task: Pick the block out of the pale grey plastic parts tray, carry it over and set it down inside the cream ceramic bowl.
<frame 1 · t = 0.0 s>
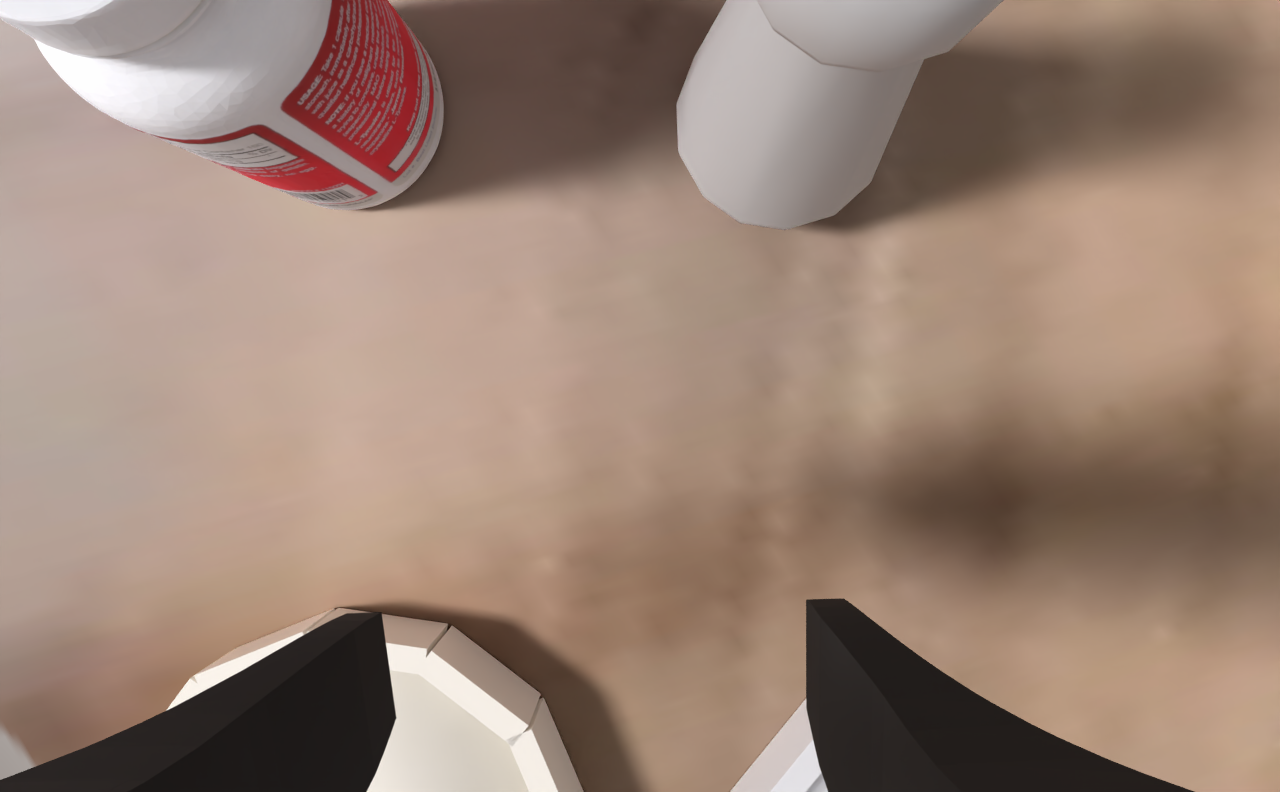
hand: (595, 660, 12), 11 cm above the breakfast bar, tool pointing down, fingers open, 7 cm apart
pill bottle: (354, 117, 22), on the breakfast bar
salt shaker: (768, 149, 22), on the breakfast bar
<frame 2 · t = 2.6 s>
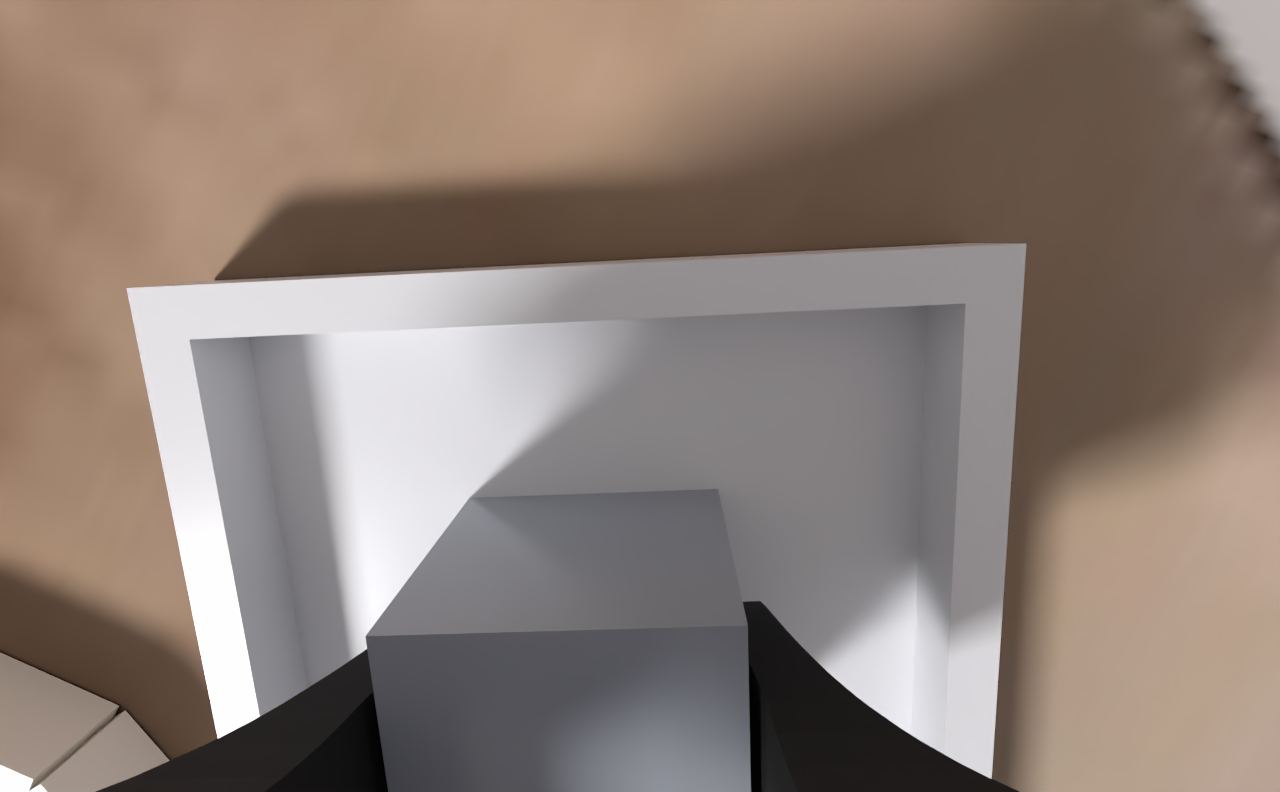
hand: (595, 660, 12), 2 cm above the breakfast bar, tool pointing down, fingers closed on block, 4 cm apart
parts tray: (603, 608, 13), on the breakfast bar
block: (601, 622, 13), resting on parts tray, touching gripper
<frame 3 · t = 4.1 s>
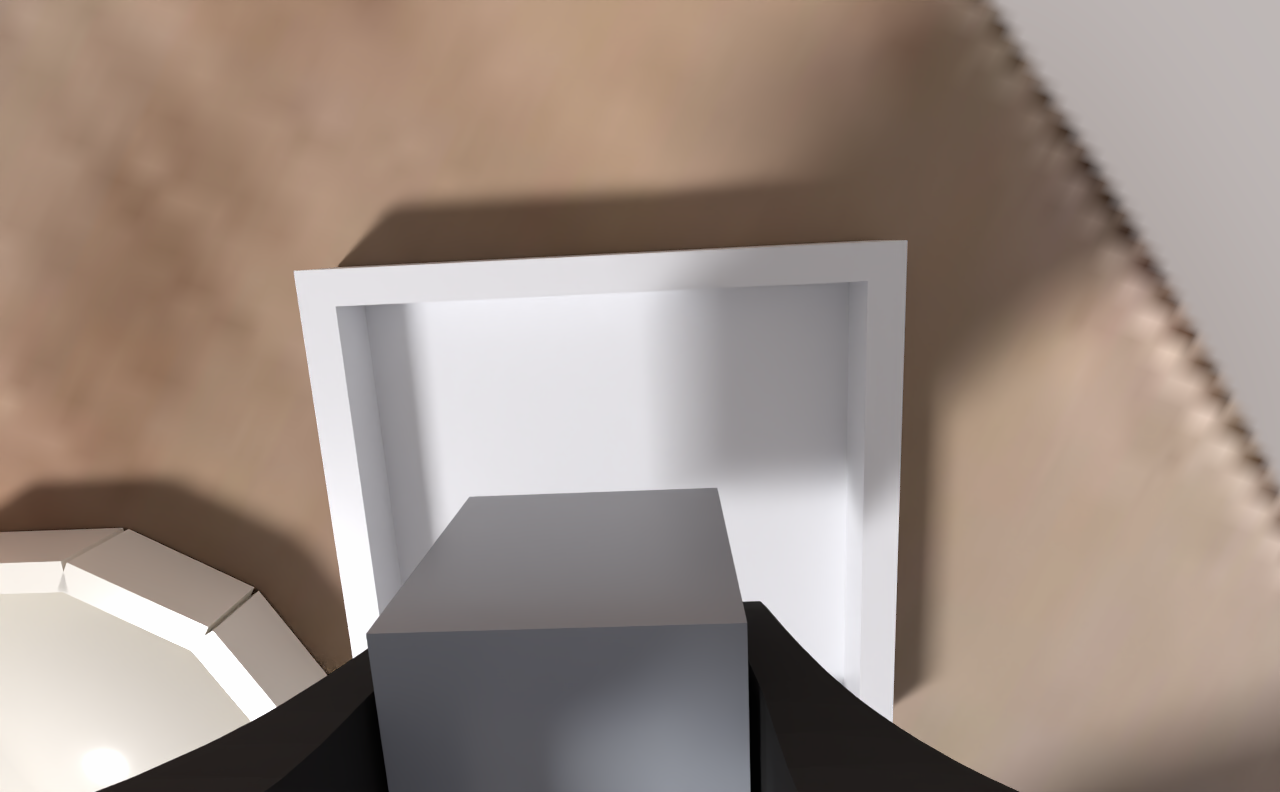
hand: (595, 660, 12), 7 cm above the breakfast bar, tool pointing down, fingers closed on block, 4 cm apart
parts tray: (618, 510, 18), on the breakfast bar
block: (601, 620, 13), point 5 cm above the breakfast bar, touching gripper
bowl: (112, 757, 20), on the breakfast bar
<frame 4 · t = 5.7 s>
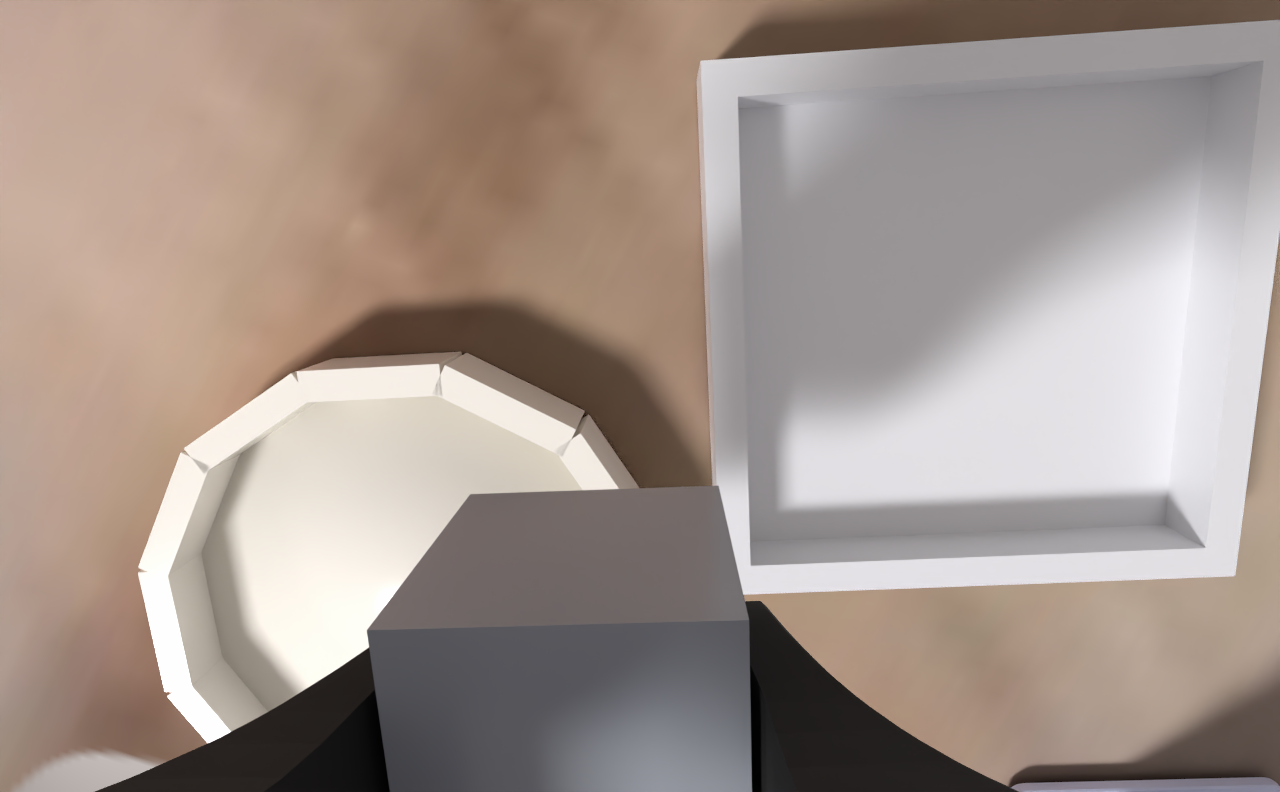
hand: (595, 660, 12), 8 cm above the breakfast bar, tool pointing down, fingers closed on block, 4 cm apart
parts tray: (951, 325, 19), on the breakfast bar
block: (601, 618, 13), point 7 cm above the breakfast bar, touching gripper
bowl: (428, 588, 21), on the breakfast bar
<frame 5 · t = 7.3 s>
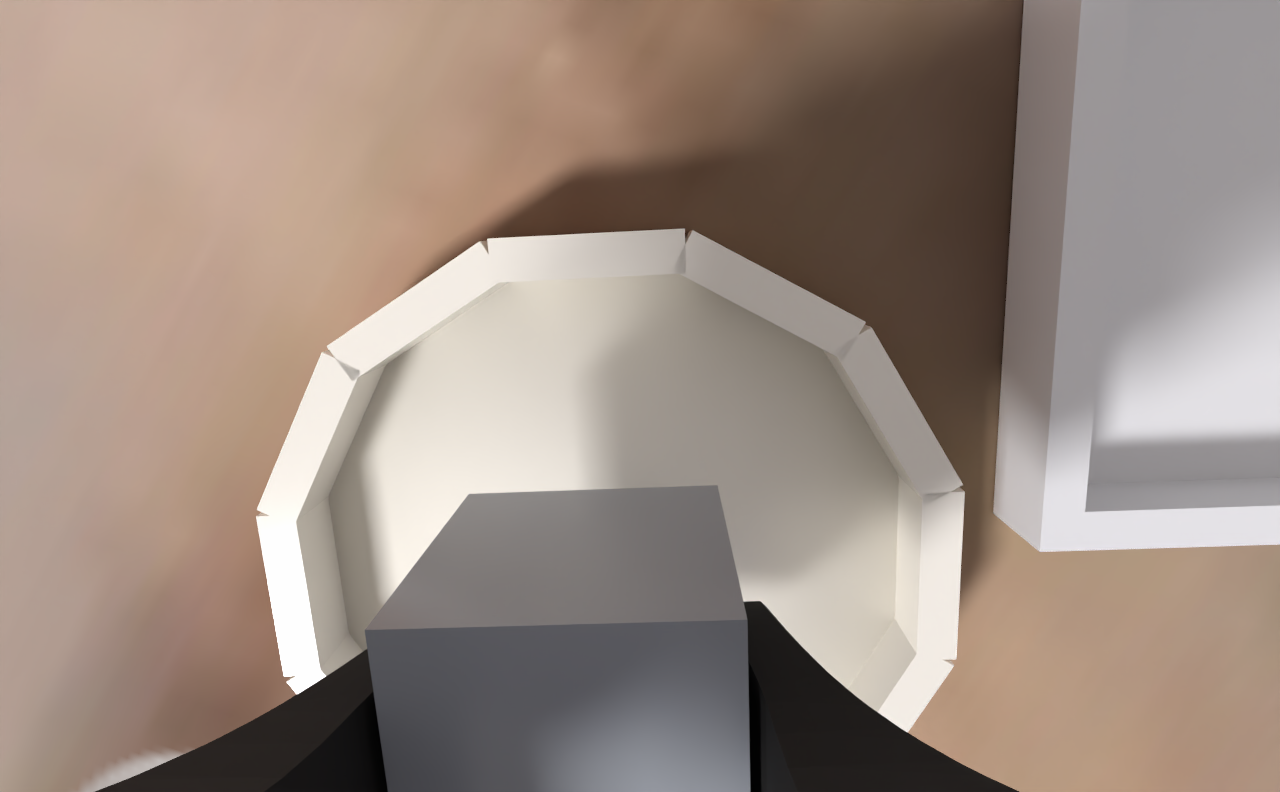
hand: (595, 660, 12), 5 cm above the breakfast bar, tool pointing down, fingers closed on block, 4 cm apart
block: (600, 618, 13), point 3 cm above the breakfast bar, touching gripper
bowl: (614, 546, 16), on the breakfast bar
when the fingers open (3 cm above the breakfast bar, at t = 8.9 s): block drops 1 cm, resting on bowl.
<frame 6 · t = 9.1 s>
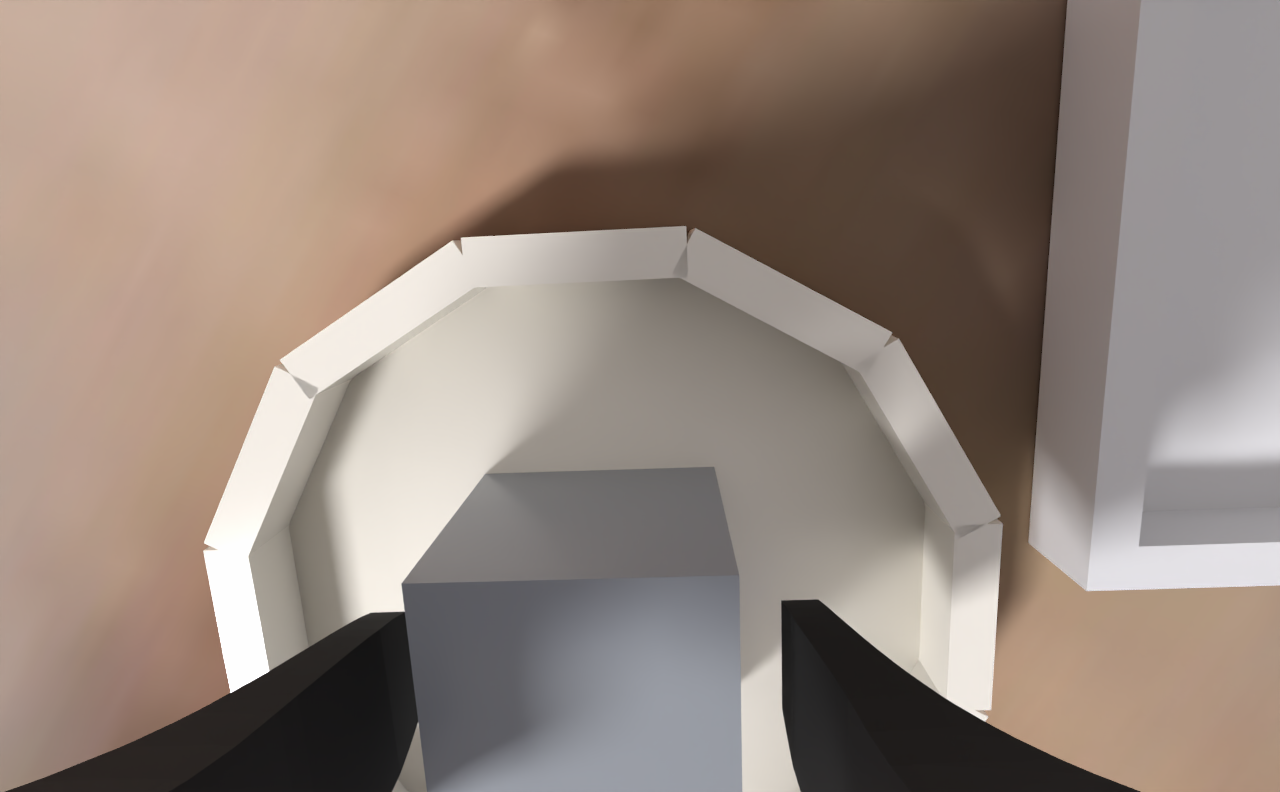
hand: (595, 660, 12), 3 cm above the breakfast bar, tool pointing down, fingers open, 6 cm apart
block: (605, 589, 14), point 1 cm above the breakfast bar, touching bowl
bowl: (608, 578, 15), on the breakfast bar
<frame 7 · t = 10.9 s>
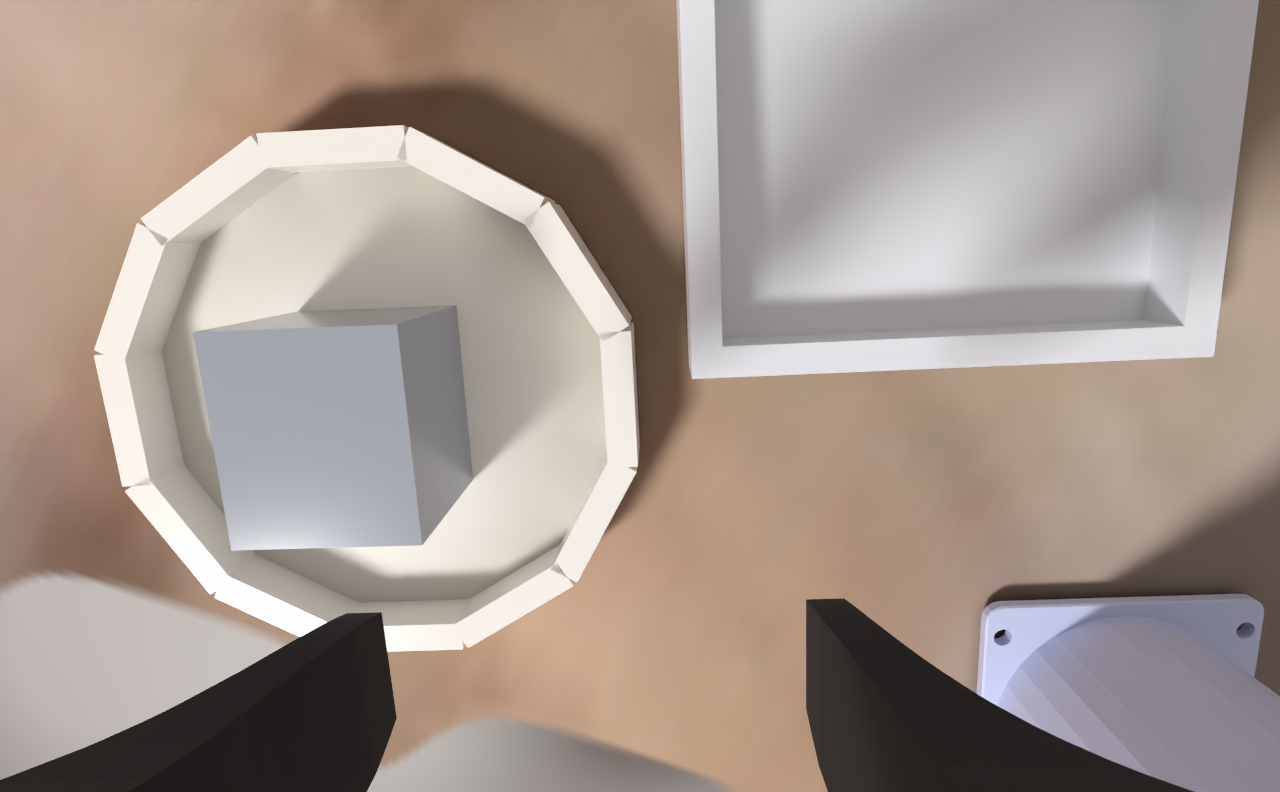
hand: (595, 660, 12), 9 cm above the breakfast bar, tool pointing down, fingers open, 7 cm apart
parts tray: (929, 108, 18), on the breakfast bar
block: (387, 397, 20), point 1 cm above the breakfast bar, touching bowl
bowl: (395, 395, 20), on the breakfast bar
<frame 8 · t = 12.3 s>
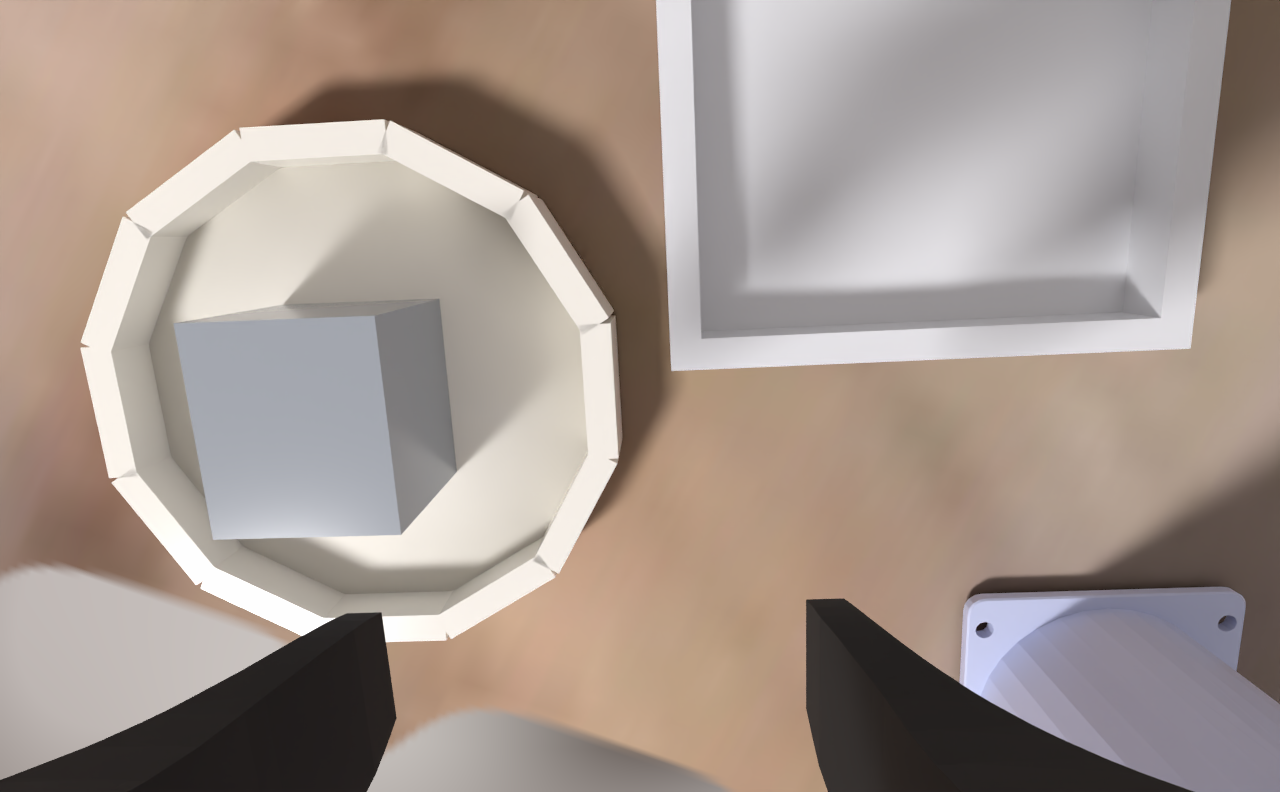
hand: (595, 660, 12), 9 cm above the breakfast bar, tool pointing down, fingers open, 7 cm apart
parts tray: (908, 102, 19), on the breakfast bar
block: (371, 390, 20), point 1 cm above the breakfast bar, touching bowl
bowl: (380, 388, 21), on the breakfast bar
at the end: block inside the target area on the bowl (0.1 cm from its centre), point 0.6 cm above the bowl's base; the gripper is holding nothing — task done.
